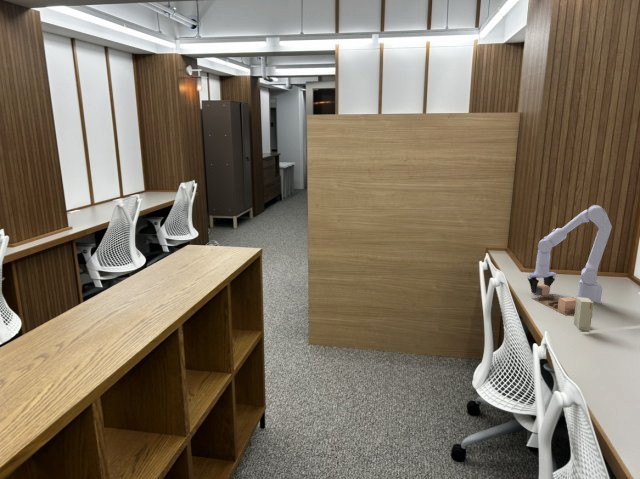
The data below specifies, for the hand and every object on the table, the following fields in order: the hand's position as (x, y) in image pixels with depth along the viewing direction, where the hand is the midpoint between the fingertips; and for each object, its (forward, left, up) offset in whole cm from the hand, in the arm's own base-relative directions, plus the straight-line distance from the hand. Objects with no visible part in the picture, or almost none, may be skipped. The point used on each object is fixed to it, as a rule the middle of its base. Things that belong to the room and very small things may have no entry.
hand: (539, 292), depth 224 cm
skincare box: (+12, +39, -2) cm, 41 cm away
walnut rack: (+3, +17, -1) cm, 17 cm away
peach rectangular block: (-1, 0, -2) cm, 2 cm away
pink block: (+4, +22, 0) cm, 23 cm away
